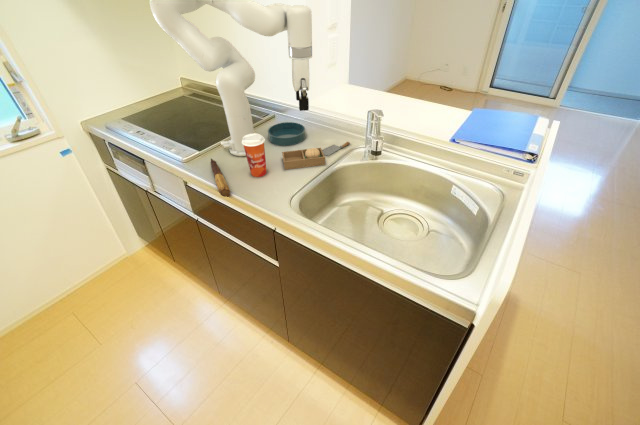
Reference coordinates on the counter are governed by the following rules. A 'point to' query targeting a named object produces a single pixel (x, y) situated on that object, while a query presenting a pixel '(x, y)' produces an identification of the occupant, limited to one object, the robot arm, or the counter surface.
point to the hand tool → (220, 180)
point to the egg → (312, 153)
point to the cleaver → (333, 149)
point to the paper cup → (255, 154)
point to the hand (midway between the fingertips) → (302, 104)
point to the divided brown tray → (301, 159)
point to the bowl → (286, 133)
